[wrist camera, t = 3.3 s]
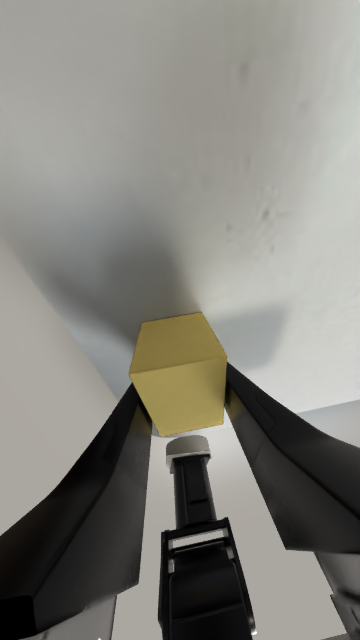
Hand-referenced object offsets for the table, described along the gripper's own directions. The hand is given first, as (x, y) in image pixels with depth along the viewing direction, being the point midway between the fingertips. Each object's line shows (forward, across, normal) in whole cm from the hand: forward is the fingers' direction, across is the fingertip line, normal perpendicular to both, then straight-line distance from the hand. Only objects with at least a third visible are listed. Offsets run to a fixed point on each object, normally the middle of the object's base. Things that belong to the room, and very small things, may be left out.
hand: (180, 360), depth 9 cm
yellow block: (+1, 0, 0) cm, 1 cm away
